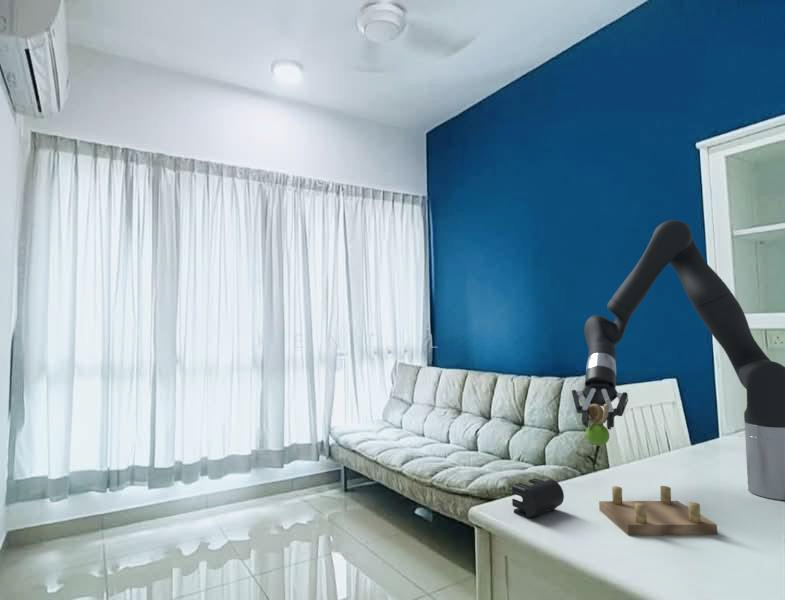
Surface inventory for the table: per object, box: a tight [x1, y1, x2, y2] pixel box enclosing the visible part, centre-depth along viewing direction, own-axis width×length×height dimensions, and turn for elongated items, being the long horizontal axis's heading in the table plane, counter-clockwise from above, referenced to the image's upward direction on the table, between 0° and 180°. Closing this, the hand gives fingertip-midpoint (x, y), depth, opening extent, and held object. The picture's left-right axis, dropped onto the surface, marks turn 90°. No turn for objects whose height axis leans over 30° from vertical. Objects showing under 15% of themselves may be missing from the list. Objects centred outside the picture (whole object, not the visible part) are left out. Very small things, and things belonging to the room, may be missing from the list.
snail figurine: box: [585, 399, 610, 447], centre depth 118 cm, size 5×6×12 cm
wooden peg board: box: [598, 485, 718, 536], centre depth 100 cm, size 18×13×6 cm
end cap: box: [511, 477, 565, 519], centre depth 106 cm, size 10×7×7 cm
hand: (597, 426), depth 116 cm, fingers closed on snail figurine, 4 cm apart
